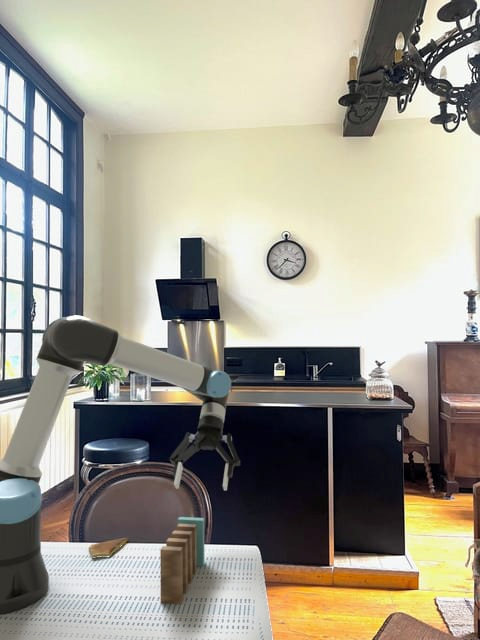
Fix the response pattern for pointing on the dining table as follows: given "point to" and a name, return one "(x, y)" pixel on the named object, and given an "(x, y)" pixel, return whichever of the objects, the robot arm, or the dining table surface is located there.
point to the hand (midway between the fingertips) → (200, 487)
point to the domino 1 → (200, 536)
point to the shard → (106, 547)
